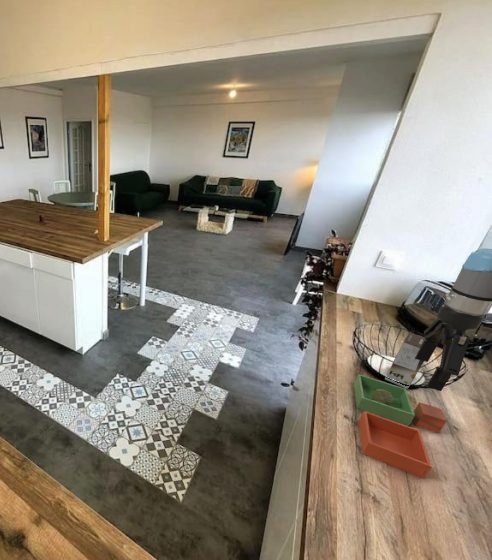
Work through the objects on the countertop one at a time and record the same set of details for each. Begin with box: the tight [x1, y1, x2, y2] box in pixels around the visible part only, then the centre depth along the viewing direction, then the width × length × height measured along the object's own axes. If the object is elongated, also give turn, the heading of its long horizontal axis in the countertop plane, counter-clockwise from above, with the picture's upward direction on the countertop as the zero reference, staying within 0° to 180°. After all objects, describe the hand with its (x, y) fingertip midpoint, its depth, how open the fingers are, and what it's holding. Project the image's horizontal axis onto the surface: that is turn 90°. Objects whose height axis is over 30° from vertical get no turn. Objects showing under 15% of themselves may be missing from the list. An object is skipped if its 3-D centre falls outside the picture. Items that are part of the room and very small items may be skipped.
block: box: [413, 401, 448, 434], centre depth 90 cm, size 5×5×5 cm
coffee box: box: [384, 332, 426, 390], centre depth 105 cm, size 9×6×16 cm
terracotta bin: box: [358, 411, 433, 479], centre depth 84 cm, size 12×12×4 cm
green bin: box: [353, 373, 415, 427], centre depth 97 cm, size 12×12×4 cm
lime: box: [372, 389, 394, 406], centre depth 97 cm, size 4×5×5 cm
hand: (427, 373), depth 88 cm, fingers open, 13 cm apart
